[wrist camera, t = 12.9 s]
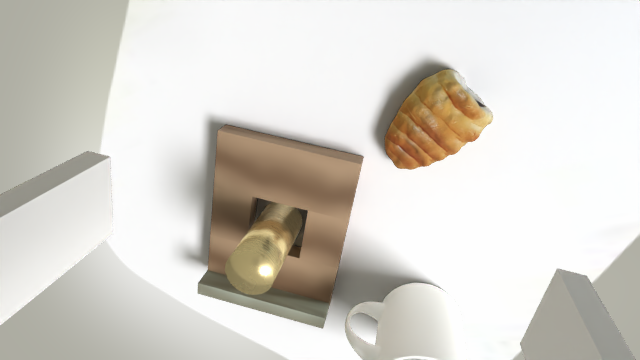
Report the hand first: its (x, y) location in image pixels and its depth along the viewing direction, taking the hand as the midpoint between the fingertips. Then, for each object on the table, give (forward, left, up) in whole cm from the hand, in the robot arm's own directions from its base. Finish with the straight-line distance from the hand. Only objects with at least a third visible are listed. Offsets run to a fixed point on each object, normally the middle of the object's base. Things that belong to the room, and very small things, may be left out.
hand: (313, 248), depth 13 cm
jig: (+17, -7, -29) cm, 34 cm away
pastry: (+3, +6, -29) cm, 30 cm away
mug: (+24, +8, -29) cm, 38 cm away
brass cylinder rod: (+17, -7, -29) cm, 34 cm away
